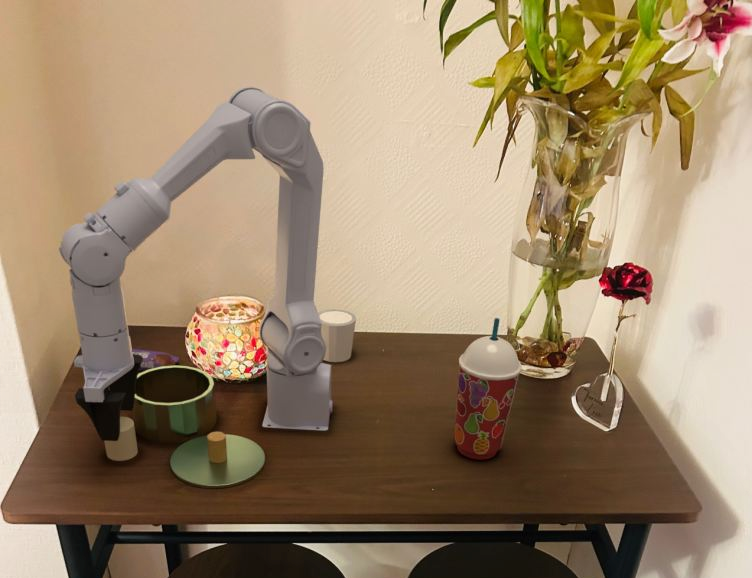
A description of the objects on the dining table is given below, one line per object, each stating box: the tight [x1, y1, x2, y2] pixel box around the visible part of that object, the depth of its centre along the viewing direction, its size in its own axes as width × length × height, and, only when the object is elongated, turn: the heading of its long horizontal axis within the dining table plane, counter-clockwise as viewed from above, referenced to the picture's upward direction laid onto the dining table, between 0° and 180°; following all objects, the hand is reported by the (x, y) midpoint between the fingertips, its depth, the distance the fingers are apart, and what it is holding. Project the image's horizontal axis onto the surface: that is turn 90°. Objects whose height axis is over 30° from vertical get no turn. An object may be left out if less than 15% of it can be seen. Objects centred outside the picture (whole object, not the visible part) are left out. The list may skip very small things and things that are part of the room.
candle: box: [104, 416, 139, 462], centre depth 102 cm, size 4×4×5 cm
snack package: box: [131, 348, 181, 372], centre depth 125 cm, size 12×2×5 cm
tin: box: [130, 365, 218, 443], centre depth 110 cm, size 12×12×6 cm
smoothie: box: [453, 317, 523, 461], centre depth 105 cm, size 8×8×20 cm
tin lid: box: [169, 431, 266, 489], centre depth 102 cm, size 12×12×5 cm
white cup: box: [318, 309, 357, 363], centre depth 131 cm, size 7×7×7 cm
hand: (117, 423), depth 101 cm, fingers open, 7 cm apart
